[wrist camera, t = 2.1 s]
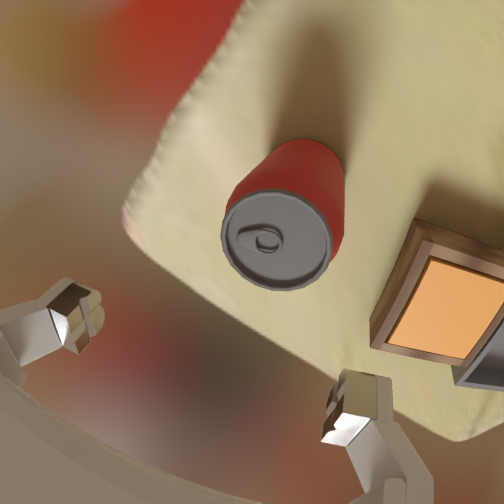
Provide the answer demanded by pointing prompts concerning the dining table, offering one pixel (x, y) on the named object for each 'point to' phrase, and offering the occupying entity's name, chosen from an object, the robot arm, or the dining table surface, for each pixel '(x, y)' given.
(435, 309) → the orange square panel
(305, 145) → the beer can
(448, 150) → the dining table surface
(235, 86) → the dining table surface
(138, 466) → the robot arm
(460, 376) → the tray
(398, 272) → the checker stand
